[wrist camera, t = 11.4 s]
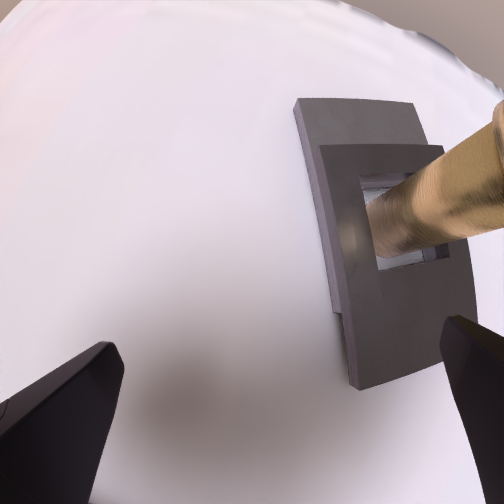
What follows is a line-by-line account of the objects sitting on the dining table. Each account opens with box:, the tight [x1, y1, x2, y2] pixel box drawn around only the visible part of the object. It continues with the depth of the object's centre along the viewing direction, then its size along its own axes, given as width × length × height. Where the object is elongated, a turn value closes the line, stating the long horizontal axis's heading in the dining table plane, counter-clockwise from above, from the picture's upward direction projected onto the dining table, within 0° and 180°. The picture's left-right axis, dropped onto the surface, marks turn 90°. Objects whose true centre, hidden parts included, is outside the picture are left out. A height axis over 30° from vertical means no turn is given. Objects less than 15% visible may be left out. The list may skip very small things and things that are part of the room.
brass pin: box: [366, 100, 504, 257], centre depth 13 cm, size 5×5×14 cm
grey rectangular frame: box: [293, 98, 478, 391], centre depth 19 cm, size 18×10×3 cm, turn 9°
